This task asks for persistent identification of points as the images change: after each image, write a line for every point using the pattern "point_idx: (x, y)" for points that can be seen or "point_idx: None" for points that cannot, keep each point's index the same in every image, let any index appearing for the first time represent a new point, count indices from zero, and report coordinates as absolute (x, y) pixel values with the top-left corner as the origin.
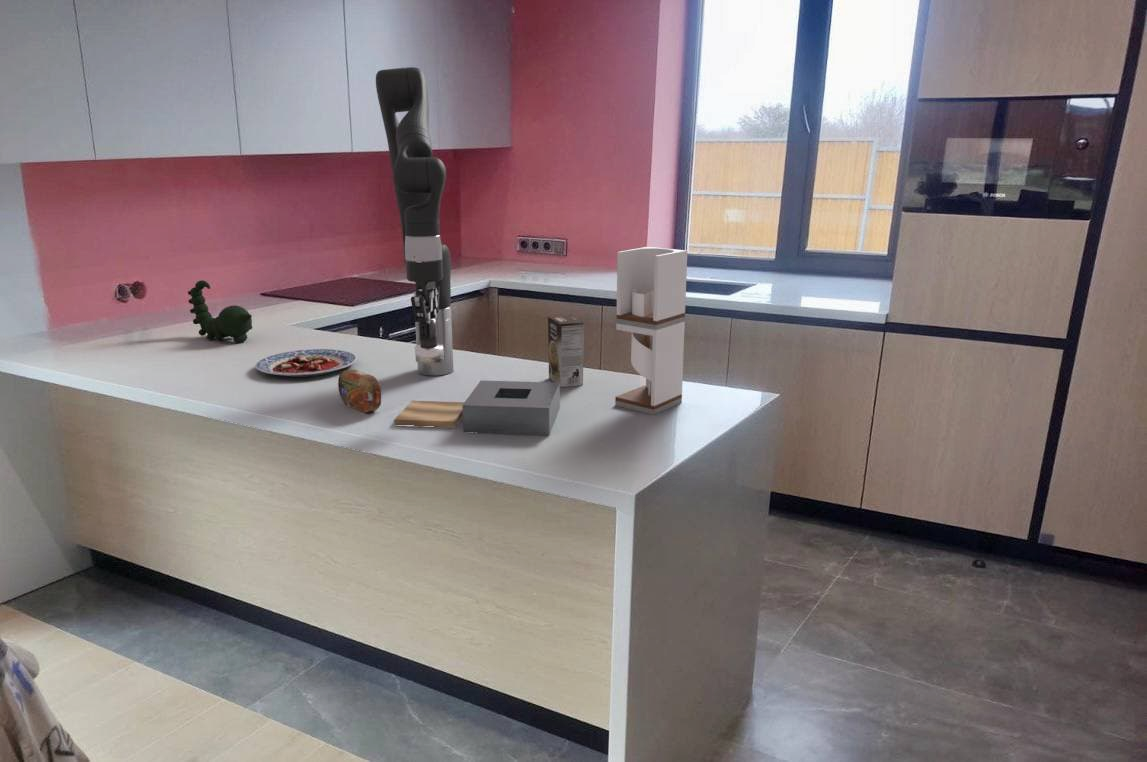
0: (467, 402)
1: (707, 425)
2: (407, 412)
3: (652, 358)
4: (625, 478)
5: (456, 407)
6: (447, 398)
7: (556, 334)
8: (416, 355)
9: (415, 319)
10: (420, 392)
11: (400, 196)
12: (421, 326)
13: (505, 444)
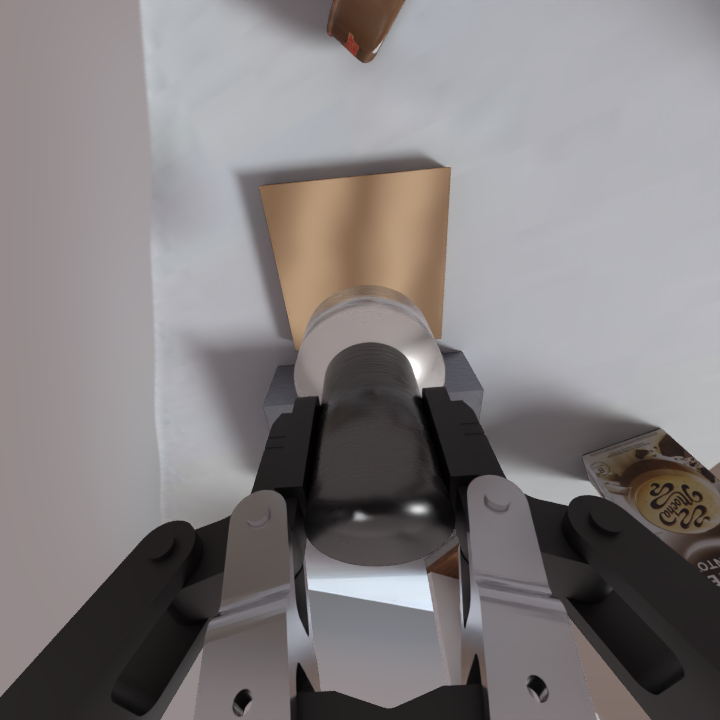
0: (287, 411)
1: (391, 593)
2: (330, 203)
3: (447, 664)
4: None
5: None
6: (528, 249)
7: (697, 563)
8: (315, 318)
9: (134, 560)
10: (611, 127)
11: None
12: (258, 490)
13: (247, 441)
